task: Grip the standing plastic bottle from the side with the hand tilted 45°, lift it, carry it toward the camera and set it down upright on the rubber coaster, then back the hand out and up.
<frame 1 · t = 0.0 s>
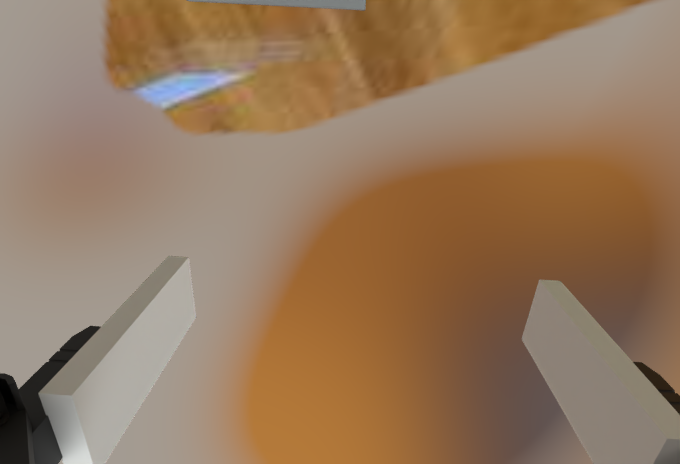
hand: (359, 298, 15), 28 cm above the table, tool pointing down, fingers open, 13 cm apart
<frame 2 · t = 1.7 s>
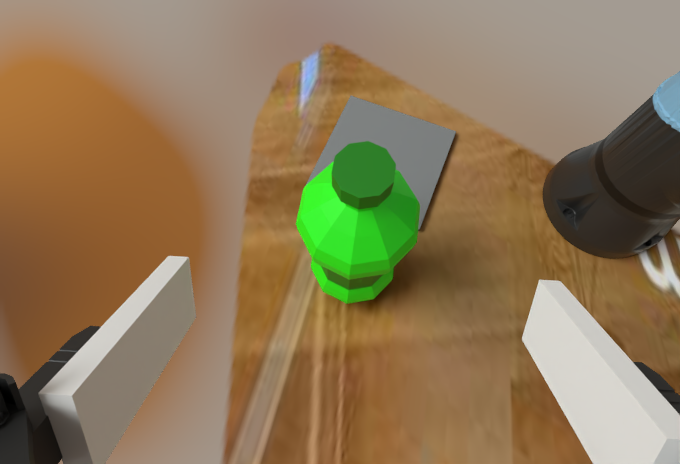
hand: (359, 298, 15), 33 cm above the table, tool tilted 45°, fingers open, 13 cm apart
plastic bottle: (352, 269, 49), on the table
rubber coaster: (382, 160, 55), on the table
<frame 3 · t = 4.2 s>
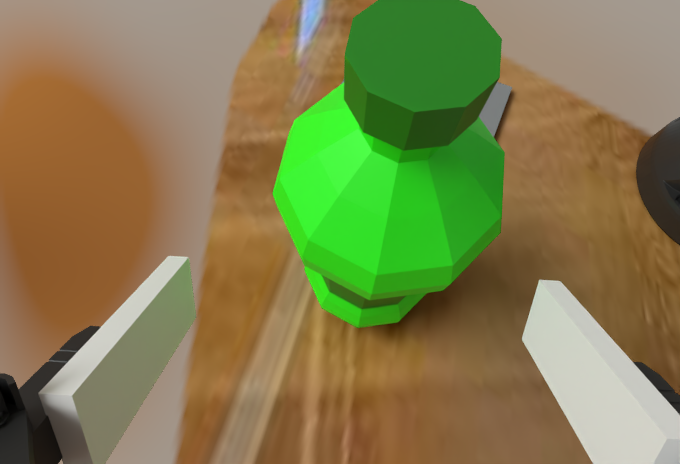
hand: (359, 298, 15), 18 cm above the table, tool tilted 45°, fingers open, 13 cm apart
plastic bottle: (365, 275, 34), on the table
rubber coaster: (409, 124, 39), on the table
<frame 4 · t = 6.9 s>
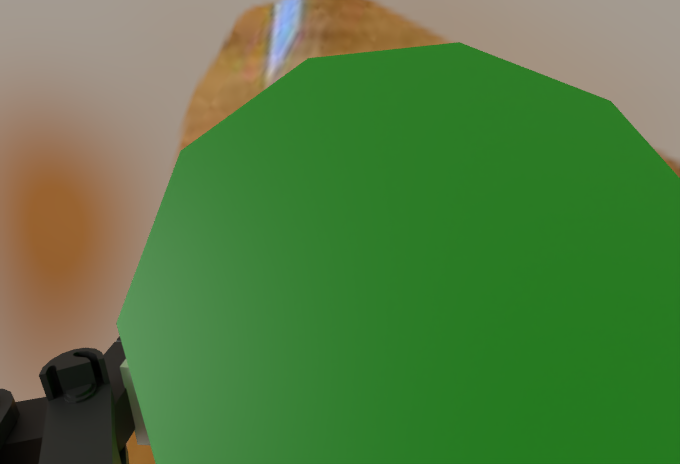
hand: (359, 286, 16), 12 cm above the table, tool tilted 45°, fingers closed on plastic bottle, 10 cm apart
plastic bottle: (348, 371, 26), on the table, touching gripper
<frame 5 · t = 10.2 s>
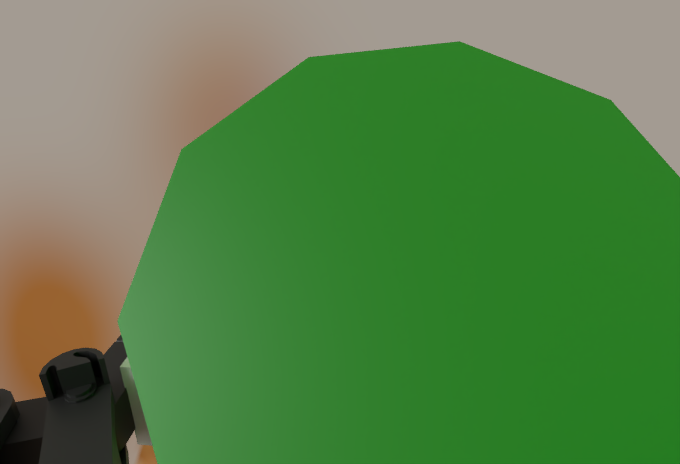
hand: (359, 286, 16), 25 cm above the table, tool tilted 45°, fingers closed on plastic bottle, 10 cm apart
plastic bottle: (348, 371, 26), point 13 cm above the table, touching gripper
when the fingers open (14 cm above the table, at t = 13.6 s): plastic bottle drops 2 cm, resting on rubber coaster.
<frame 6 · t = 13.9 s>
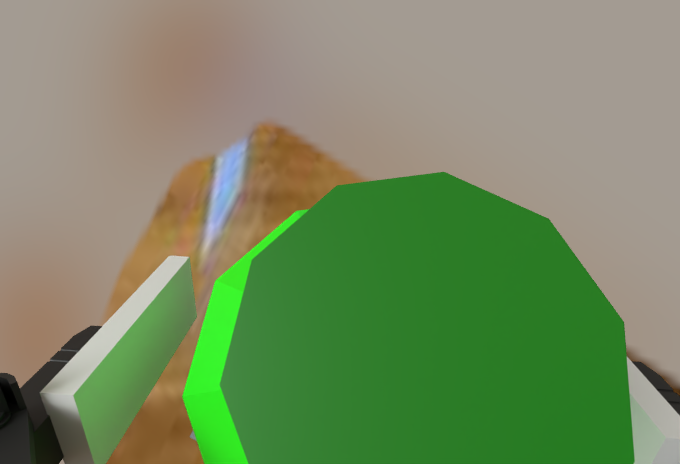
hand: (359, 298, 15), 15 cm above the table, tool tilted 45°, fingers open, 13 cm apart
plastic bottle: (349, 372, 28), point 1 cm above the table, touching rubber coaster
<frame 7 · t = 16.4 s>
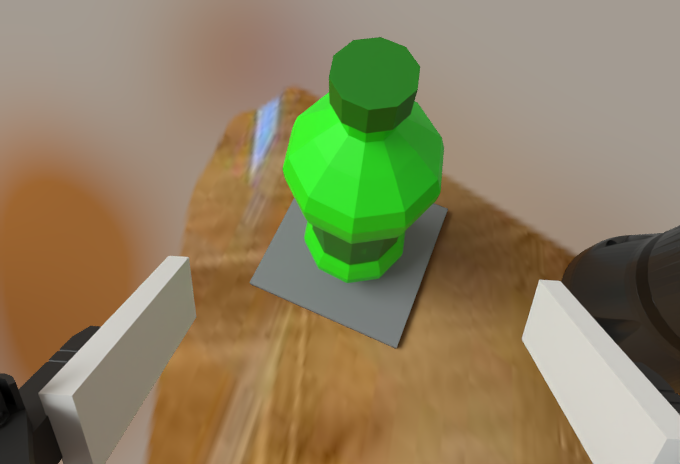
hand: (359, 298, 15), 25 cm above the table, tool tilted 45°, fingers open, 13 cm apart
plastic bottle: (353, 245, 42), point 1 cm above the table, touching rubber coaster
rubber coaster: (352, 246, 42), on the table
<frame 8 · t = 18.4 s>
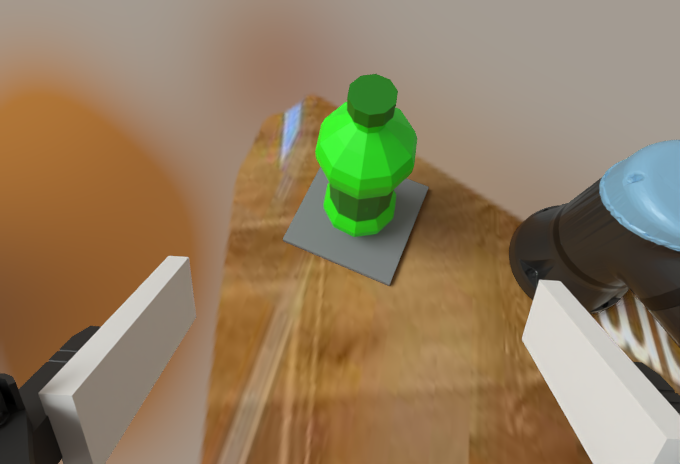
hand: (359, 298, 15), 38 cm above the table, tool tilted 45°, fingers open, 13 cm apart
plastic bottle: (358, 213, 57), point 1 cm above the table, touching rubber coaster
rubber coaster: (357, 214, 57), on the table
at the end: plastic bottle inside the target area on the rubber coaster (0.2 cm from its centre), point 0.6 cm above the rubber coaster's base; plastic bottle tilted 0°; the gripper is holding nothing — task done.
